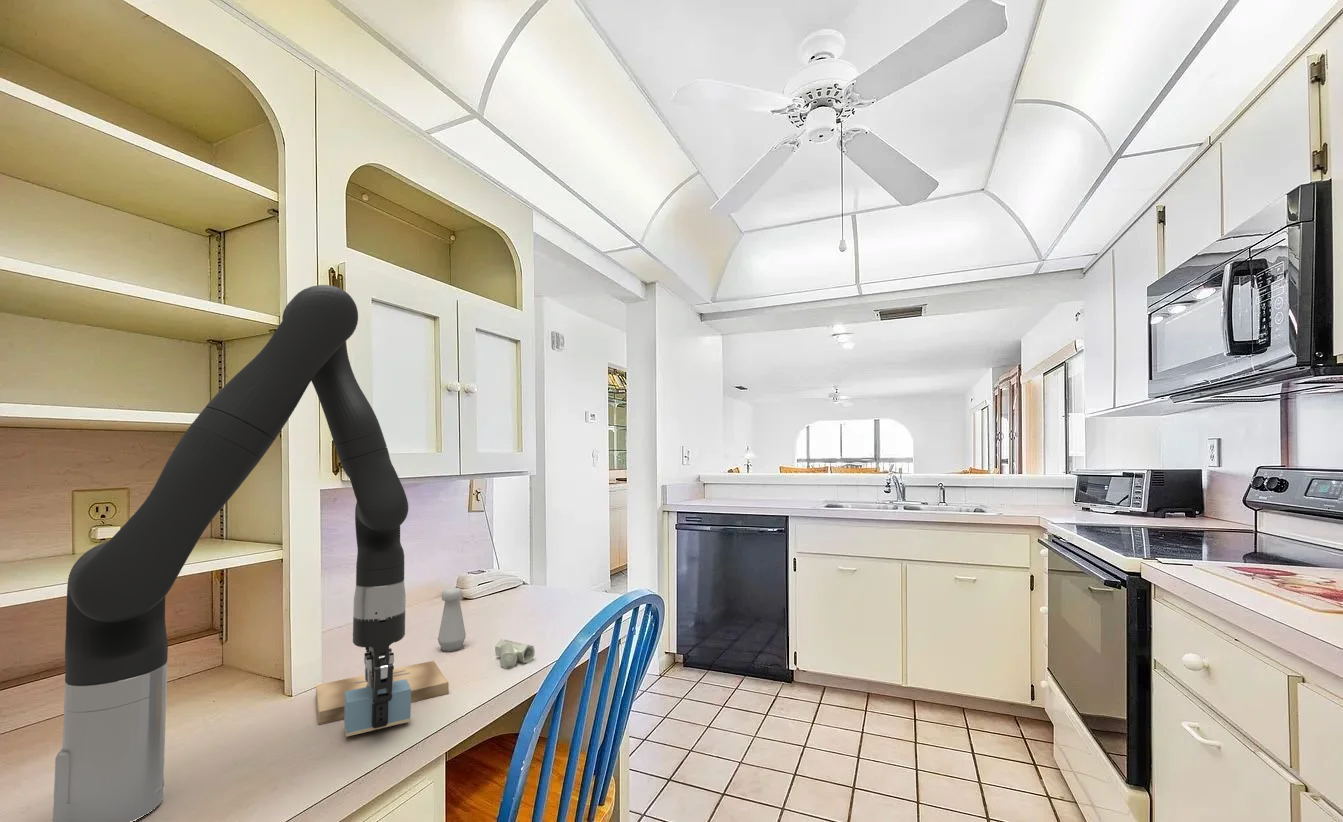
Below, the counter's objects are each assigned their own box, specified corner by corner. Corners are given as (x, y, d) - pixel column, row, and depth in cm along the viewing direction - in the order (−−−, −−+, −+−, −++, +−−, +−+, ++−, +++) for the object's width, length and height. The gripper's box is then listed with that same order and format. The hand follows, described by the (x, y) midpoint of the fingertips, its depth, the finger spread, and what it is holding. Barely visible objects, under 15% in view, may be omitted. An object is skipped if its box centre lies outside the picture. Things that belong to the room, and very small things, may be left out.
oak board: (318, 724, 93) (319, 711, 94) (316, 696, 104) (316, 684, 104) (448, 693, 104) (448, 682, 105) (433, 670, 115) (433, 660, 115)
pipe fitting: (510, 674, 115) (535, 660, 120) (509, 654, 115) (533, 641, 120) (482, 666, 119) (507, 653, 125) (481, 647, 119) (506, 635, 124)
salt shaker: (456, 653, 125) (456, 592, 126) (432, 652, 126) (432, 591, 127) (470, 644, 130) (470, 586, 131) (447, 643, 132) (448, 585, 132)
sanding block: (346, 736, 88) (346, 702, 88) (344, 723, 92) (344, 691, 92) (410, 721, 93) (411, 689, 93) (405, 709, 97) (406, 678, 97)
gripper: (349, 604, 97) (347, 709, 96) (357, 625, 85) (354, 745, 84) (398, 598, 101) (396, 698, 100) (412, 617, 89) (410, 731, 88)
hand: (377, 718), depth 92 cm, fingers closed on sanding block, 5 cm apart
